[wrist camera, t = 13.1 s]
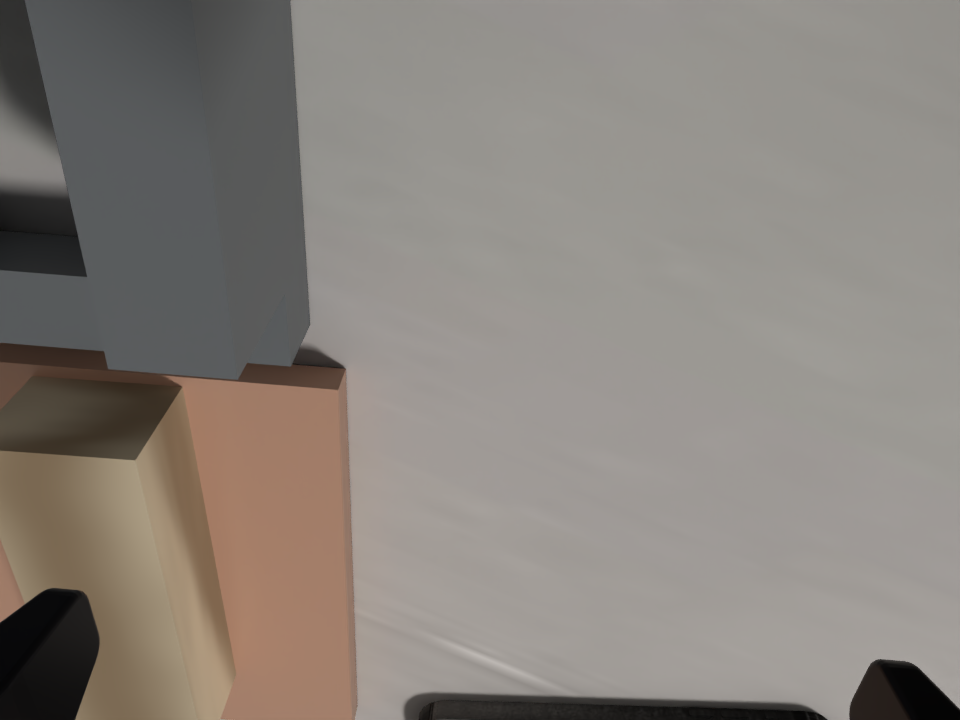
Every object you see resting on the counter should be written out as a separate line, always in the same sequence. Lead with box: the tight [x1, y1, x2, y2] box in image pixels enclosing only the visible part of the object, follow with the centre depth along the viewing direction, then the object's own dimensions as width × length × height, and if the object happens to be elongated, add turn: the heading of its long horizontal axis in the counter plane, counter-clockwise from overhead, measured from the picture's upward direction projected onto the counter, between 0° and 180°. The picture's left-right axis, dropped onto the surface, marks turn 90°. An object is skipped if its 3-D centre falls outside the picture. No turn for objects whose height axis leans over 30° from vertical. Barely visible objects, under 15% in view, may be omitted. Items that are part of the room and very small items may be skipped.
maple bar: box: [0, 376, 236, 720], centre depth 23 cm, size 4×12×3 cm, turn 177°
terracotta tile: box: [0, 343, 358, 720], centre depth 26 cm, size 12×15×1 cm
